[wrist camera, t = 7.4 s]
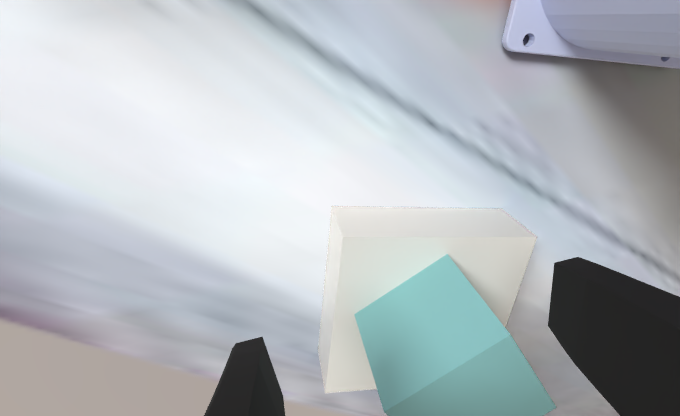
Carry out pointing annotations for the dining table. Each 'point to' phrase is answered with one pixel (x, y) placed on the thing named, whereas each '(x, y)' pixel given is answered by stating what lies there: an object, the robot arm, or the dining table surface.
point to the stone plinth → (409, 270)
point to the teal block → (446, 351)
